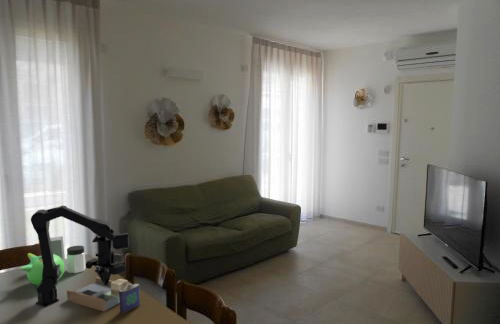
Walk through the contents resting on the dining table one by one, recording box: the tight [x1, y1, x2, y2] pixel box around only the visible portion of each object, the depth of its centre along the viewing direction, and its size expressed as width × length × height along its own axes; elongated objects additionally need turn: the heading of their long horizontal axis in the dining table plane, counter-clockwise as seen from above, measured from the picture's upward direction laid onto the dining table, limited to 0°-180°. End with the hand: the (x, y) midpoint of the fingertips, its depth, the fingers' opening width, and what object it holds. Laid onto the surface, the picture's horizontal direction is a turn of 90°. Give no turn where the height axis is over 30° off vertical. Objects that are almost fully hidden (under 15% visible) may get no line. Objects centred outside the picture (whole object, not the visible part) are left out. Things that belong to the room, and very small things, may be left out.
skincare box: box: [50, 236, 66, 266], centre depth 197 cm, size 8×7×16 cm
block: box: [111, 278, 129, 296], centre depth 160 cm, size 5×5×5 cm
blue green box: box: [119, 282, 141, 314], centre depth 151 cm, size 9×3×11 cm, turn 144°
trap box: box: [66, 276, 120, 312], centre depth 161 cm, size 16×22×4 cm
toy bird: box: [19, 252, 65, 287], centre depth 176 cm, size 18×17×15 cm
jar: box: [66, 245, 87, 274], centre depth 192 cm, size 9×8×12 cm
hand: (106, 284), depth 164 cm, fingers closed
